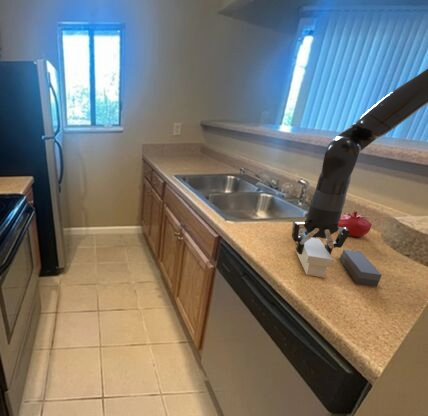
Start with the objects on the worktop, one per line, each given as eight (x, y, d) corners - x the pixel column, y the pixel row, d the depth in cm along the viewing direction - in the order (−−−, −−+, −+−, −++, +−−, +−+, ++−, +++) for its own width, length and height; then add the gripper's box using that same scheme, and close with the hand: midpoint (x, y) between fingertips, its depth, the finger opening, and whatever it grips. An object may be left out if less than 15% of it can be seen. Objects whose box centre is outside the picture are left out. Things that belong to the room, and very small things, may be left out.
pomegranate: (364, 242, 100) (372, 218, 97) (330, 233, 108) (337, 211, 104) (369, 234, 106) (377, 211, 103) (337, 226, 113) (344, 205, 110)
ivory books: (311, 254, 93) (314, 244, 92) (324, 277, 81) (328, 266, 80) (296, 252, 95) (299, 242, 93) (306, 274, 83) (309, 263, 81)
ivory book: (317, 245, 91) (319, 238, 90) (331, 266, 79) (333, 259, 78) (296, 242, 93) (297, 235, 93) (306, 262, 81) (308, 255, 81)
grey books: (356, 261, 88) (360, 250, 87) (377, 287, 77) (382, 275, 75) (339, 259, 90) (342, 248, 89) (356, 283, 78) (361, 271, 77)
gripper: (300, 206, 80) (287, 256, 86) (363, 213, 75) (344, 265, 81) (294, 199, 86) (283, 245, 92) (352, 204, 81) (335, 253, 87)
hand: (311, 255), depth 87 cm, fingers closed on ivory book, 6 cm apart
